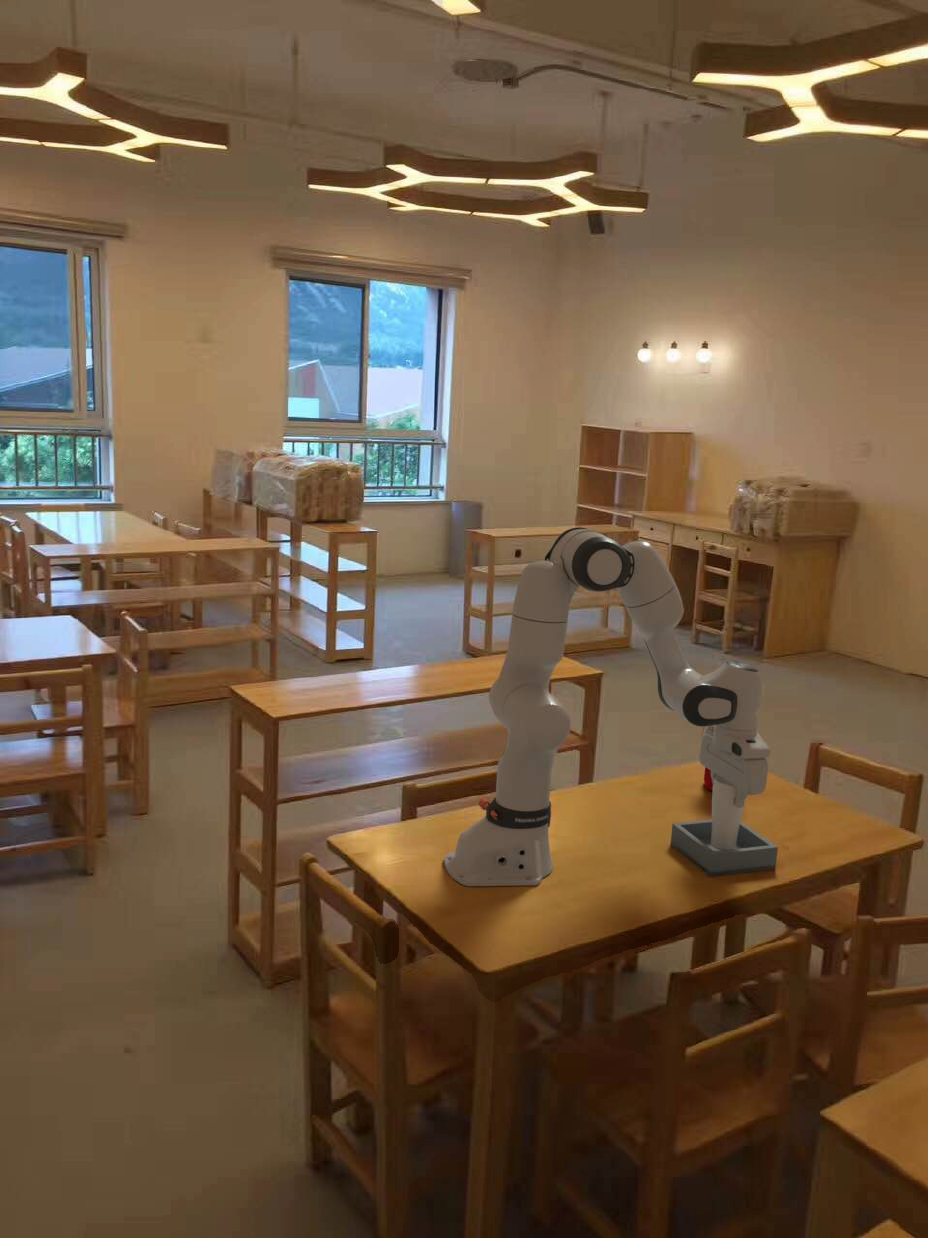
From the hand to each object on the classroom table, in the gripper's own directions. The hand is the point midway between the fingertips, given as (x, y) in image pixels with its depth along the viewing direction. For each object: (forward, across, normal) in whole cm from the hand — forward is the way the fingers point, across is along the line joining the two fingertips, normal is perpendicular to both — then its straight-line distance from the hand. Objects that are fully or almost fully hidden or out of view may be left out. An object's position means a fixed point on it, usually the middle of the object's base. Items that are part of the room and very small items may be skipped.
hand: (727, 799), depth 215 cm
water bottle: (+13, -36, +22) cm, 44 cm away
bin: (+13, 0, 0) cm, 13 cm away
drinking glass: (+11, 0, 0) cm, 11 cm away
